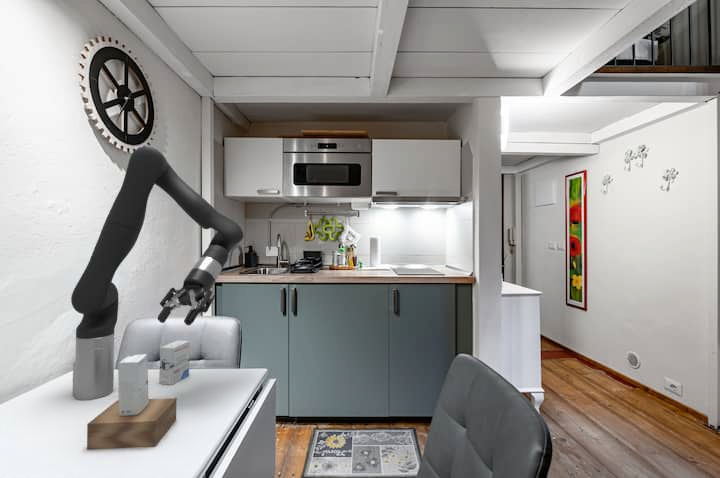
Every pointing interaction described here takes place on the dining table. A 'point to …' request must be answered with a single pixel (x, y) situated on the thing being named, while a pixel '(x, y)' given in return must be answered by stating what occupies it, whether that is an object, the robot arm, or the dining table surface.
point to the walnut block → (131, 426)
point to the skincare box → (133, 384)
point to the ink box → (174, 362)
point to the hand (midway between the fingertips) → (173, 322)
